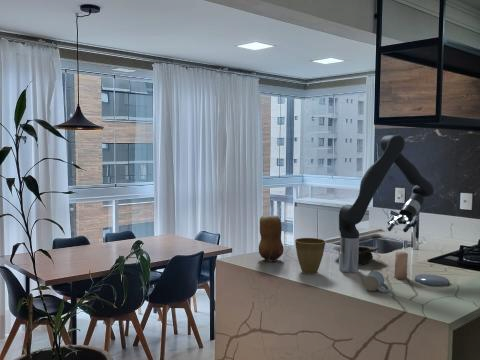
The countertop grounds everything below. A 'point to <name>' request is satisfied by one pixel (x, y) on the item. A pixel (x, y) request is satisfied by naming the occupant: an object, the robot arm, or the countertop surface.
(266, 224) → the butternut squash
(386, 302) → the countertop surface
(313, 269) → the plant pot
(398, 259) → the canister
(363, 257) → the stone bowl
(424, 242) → the countertop surface
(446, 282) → the slate dish
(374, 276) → the ceramic mug
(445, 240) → the countertop surface
